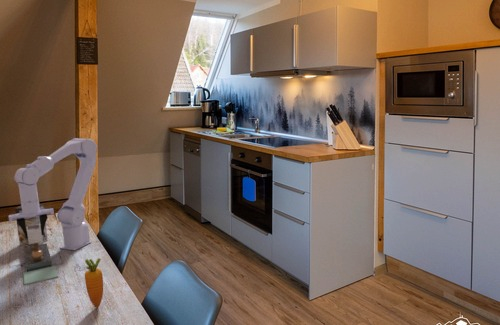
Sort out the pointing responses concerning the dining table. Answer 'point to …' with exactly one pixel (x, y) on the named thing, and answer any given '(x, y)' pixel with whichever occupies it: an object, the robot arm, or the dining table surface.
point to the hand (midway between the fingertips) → (34, 236)
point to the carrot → (94, 282)
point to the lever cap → (34, 233)
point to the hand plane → (37, 257)
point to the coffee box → (33, 220)
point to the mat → (40, 275)
